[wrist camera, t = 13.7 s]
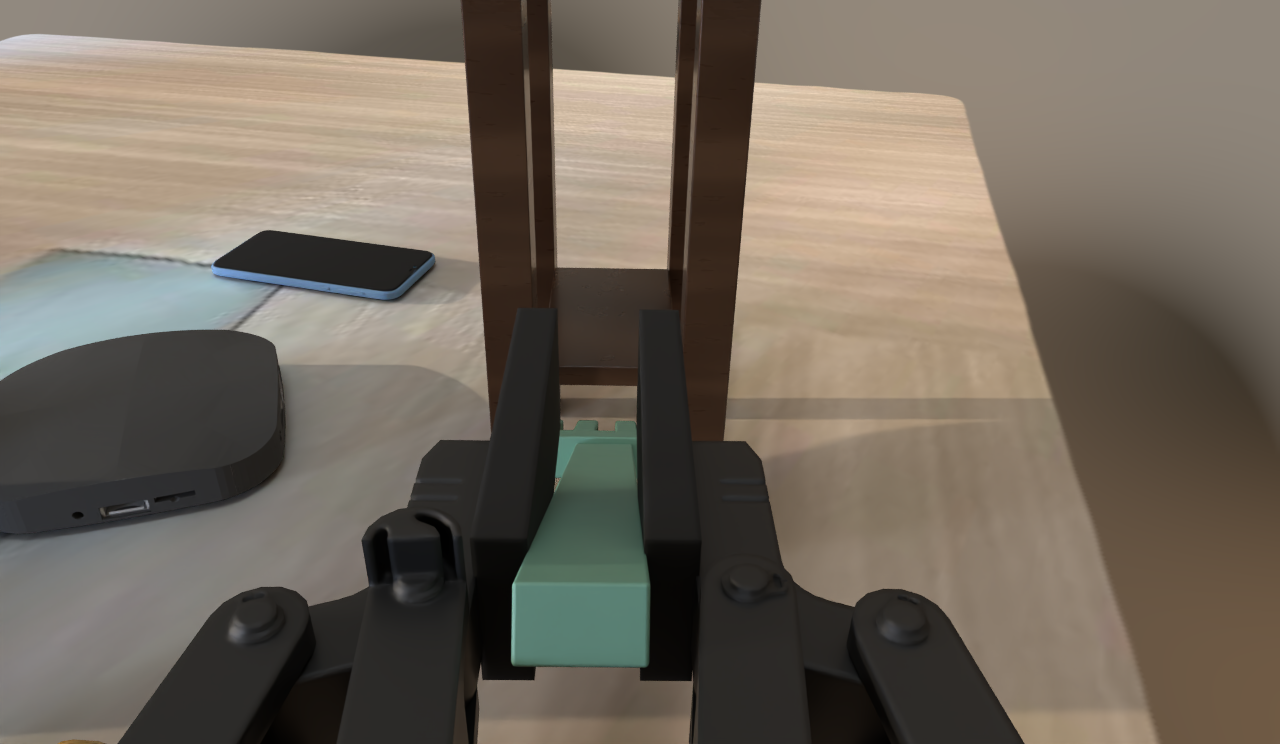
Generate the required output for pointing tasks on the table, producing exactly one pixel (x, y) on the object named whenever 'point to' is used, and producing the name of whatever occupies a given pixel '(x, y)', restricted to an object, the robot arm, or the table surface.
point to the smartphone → (325, 264)
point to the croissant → (80, 742)
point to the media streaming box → (138, 428)
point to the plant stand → (526, 201)
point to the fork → (586, 561)
